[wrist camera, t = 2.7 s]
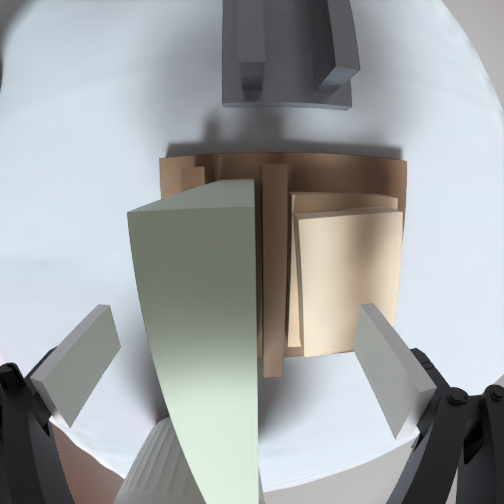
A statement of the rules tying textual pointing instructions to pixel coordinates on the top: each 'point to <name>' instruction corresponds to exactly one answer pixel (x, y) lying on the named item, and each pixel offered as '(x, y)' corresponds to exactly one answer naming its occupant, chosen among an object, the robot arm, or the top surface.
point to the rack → (282, 215)
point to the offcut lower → (295, 205)
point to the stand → (288, 53)
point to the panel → (204, 327)
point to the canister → (163, 472)
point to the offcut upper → (344, 272)
